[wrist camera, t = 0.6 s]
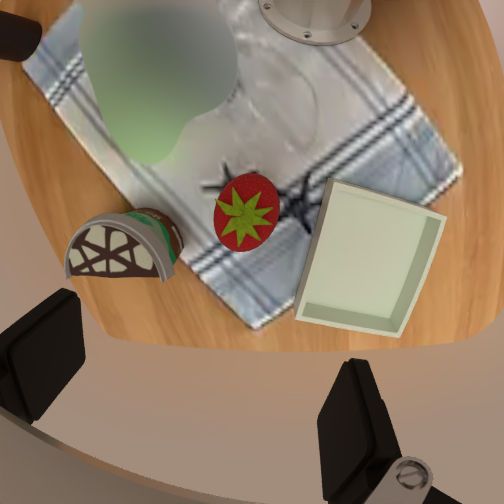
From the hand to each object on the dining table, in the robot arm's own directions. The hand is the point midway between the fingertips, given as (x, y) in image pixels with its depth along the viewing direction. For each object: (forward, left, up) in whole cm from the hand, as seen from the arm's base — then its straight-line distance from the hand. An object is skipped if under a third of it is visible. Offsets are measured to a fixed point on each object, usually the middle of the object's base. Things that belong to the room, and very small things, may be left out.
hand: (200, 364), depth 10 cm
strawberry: (0, -1, -26) cm, 26 cm away
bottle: (-19, -39, -26) cm, 51 cm away
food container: (+5, -13, -26) cm, 29 cm away
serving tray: (+3, +13, -26) cm, 29 cm away
